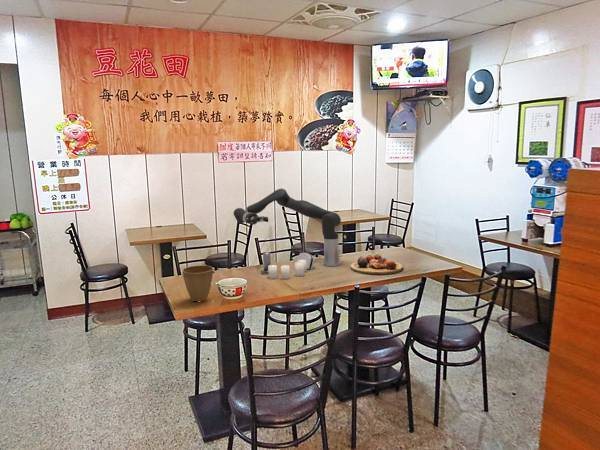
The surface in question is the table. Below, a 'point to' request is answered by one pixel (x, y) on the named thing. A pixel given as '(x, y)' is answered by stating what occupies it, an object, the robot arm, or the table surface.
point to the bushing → (266, 261)
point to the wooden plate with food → (375, 265)
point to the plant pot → (198, 281)
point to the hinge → (307, 259)
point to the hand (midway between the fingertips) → (261, 221)
